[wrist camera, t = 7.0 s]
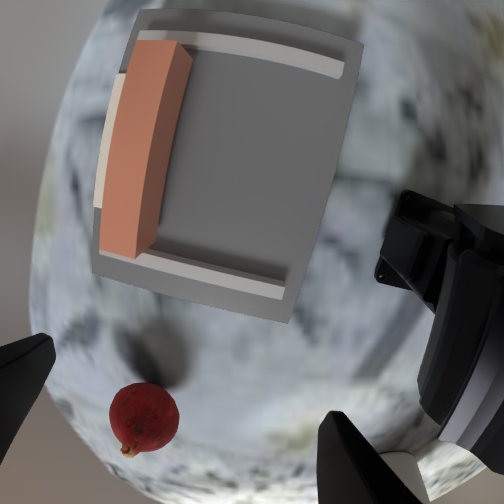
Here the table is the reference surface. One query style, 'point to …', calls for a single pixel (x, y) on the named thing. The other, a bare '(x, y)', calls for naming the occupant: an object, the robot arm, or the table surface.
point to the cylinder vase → (407, 473)
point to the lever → (142, 146)
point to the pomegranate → (143, 418)
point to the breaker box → (240, 159)
